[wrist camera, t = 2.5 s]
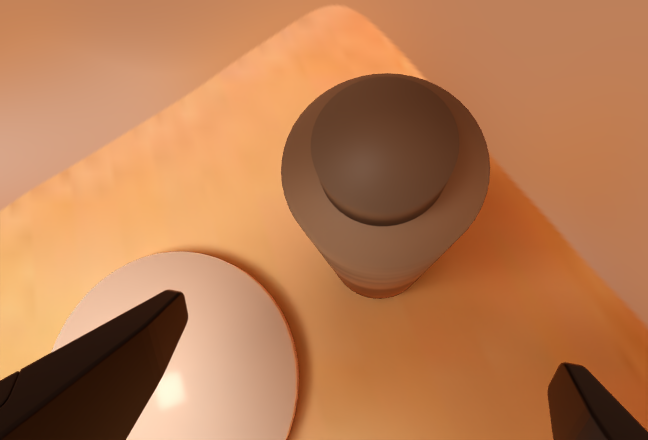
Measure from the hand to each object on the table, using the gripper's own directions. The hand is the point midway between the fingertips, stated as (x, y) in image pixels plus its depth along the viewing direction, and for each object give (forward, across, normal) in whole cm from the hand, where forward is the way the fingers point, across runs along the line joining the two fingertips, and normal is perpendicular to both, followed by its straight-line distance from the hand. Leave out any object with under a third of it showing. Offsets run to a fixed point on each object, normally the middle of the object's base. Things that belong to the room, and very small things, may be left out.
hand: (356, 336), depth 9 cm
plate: (+5, +9, +11) cm, 15 cm away
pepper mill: (+10, 0, +5) cm, 11 cm away
